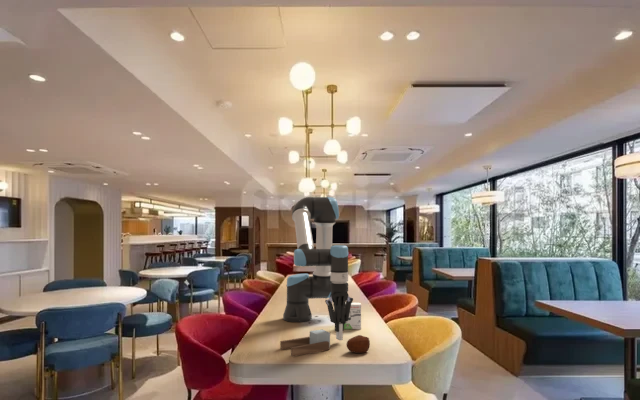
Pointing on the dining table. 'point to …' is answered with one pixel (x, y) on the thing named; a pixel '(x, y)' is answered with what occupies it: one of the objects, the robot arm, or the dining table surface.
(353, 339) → the potato
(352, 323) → the ink box
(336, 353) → the dining table surface
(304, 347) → the pair of wooden slats
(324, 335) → the block
